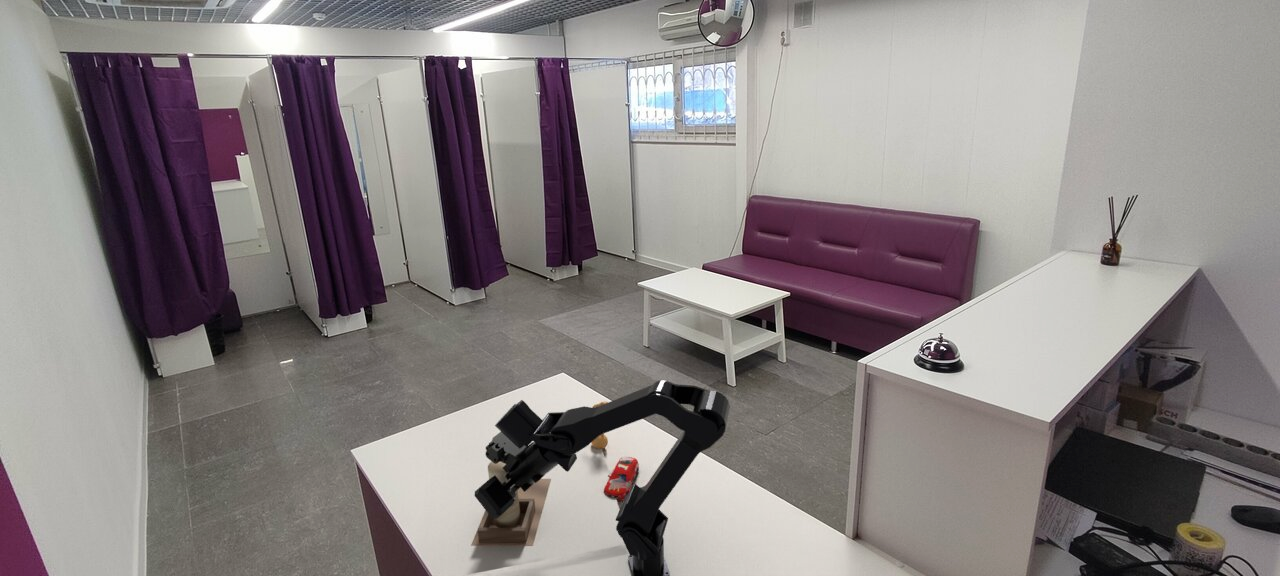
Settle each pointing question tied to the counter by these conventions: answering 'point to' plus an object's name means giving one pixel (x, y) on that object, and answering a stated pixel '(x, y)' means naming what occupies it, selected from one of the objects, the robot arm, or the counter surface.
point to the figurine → (602, 439)
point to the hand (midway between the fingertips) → (499, 491)
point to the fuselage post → (513, 513)
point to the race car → (622, 478)
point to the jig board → (527, 527)
